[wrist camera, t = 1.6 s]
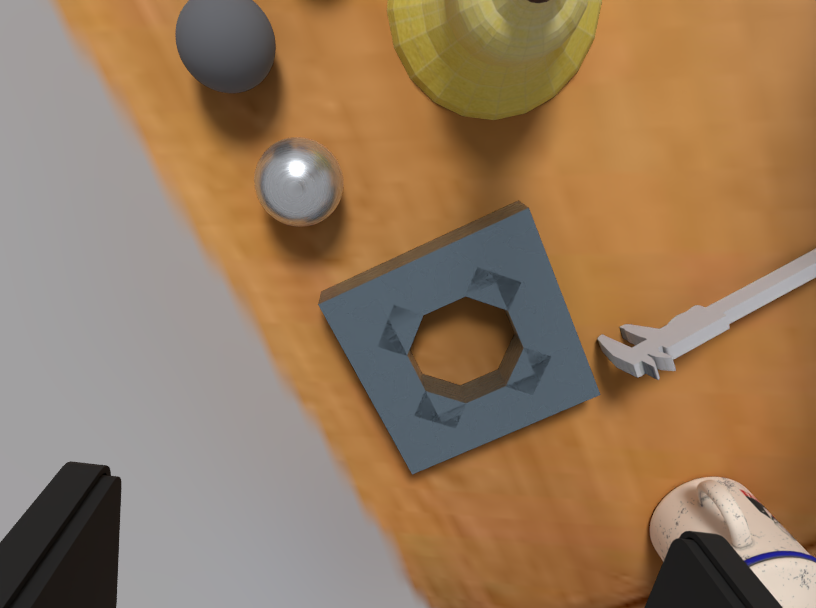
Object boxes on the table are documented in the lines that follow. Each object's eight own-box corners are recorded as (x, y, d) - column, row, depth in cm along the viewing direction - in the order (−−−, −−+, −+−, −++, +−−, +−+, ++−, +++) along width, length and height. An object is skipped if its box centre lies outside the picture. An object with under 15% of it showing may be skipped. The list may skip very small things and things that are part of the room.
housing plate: (321, 291, 38) (318, 304, 36) (518, 200, 37) (528, 207, 34) (409, 453, 43) (412, 474, 40) (587, 377, 41) (600, 394, 39)
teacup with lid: (764, 540, 48) (882, 673, 37) (659, 577, 48) (743, 719, 37) (737, 425, 44) (861, 536, 33) (622, 467, 44) (706, 590, 33)
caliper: (598, 347, 41) (636, 390, 35) (593, 335, 41) (631, 376, 35) (881, 230, 39) (971, 254, 33) (879, 215, 39) (970, 237, 33)
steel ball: (267, 126, 34) (251, 131, 30) (351, 143, 35) (348, 151, 30) (258, 209, 36) (241, 226, 31) (338, 223, 36) (333, 242, 32)
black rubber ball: (195, -13, 32) (164, -32, 27) (287, 8, 32) (272, -7, 28) (188, 83, 33) (158, 81, 28) (276, 101, 34) (261, 102, 29)
